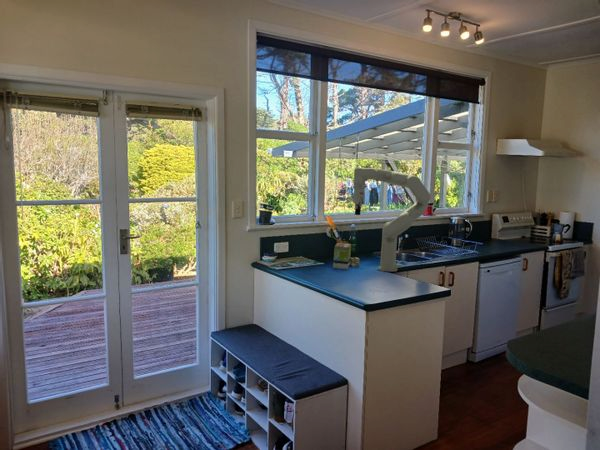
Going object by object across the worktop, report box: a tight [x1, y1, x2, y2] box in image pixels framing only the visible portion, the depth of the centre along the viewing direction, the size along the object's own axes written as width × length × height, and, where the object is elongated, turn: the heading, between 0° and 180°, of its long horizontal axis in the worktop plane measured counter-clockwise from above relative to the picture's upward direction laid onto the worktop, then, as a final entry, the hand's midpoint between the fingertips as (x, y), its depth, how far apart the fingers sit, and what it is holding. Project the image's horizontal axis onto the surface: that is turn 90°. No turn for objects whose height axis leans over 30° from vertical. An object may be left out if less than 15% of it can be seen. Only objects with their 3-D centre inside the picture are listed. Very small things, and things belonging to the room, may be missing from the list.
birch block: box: [349, 256, 360, 267], centre depth 306 cm, size 5×5×5 cm
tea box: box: [332, 242, 352, 270], centre depth 300 cm, size 15×10×15 cm
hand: (357, 214), depth 295 cm, fingers closed
